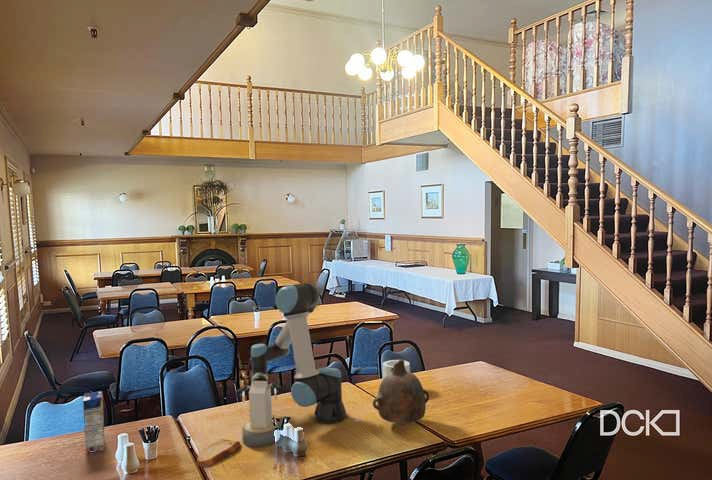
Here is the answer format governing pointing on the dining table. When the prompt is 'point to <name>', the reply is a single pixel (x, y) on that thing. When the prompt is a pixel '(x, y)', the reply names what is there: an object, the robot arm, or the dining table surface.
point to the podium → (259, 435)
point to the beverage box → (94, 421)
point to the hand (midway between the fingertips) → (259, 397)
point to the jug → (401, 396)
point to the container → (390, 364)
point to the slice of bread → (216, 452)
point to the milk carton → (260, 404)
